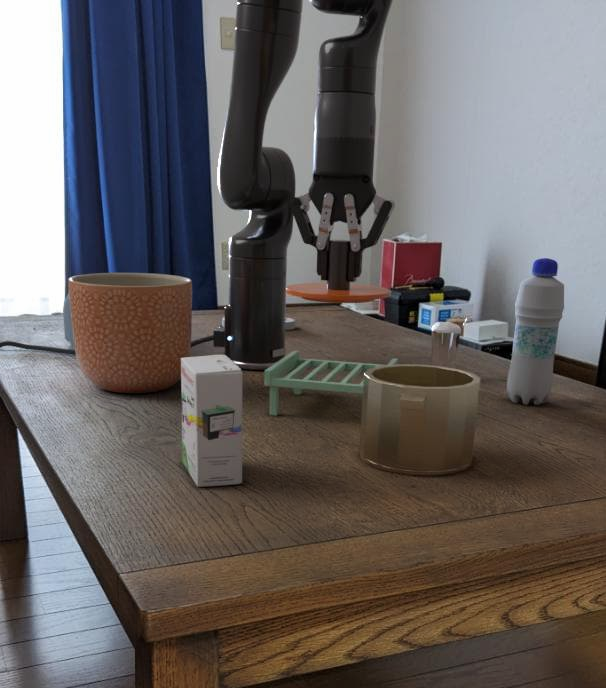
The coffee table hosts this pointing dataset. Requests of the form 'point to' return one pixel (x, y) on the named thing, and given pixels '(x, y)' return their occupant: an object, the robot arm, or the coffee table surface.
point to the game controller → (288, 323)
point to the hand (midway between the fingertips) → (338, 279)
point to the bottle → (536, 334)
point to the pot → (419, 419)
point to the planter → (131, 329)
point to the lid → (338, 281)
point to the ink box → (212, 420)
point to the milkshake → (444, 343)
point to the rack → (312, 376)
